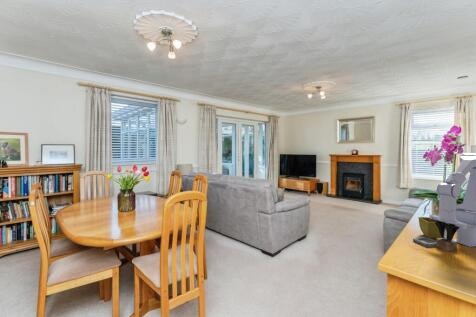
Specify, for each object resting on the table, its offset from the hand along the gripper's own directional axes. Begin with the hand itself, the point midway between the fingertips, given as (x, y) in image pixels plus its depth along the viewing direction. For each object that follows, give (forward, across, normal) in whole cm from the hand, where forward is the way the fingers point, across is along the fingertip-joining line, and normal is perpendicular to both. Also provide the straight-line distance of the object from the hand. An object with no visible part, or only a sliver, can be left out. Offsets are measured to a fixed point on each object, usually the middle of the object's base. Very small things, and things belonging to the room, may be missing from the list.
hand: (446, 238), depth 104 cm
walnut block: (+5, 0, 0) cm, 5 cm away
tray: (+5, -6, -3) cm, 9 cm away
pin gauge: (+3, 0, 0) cm, 3 cm away
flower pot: (+5, -13, +8) cm, 16 cm away
